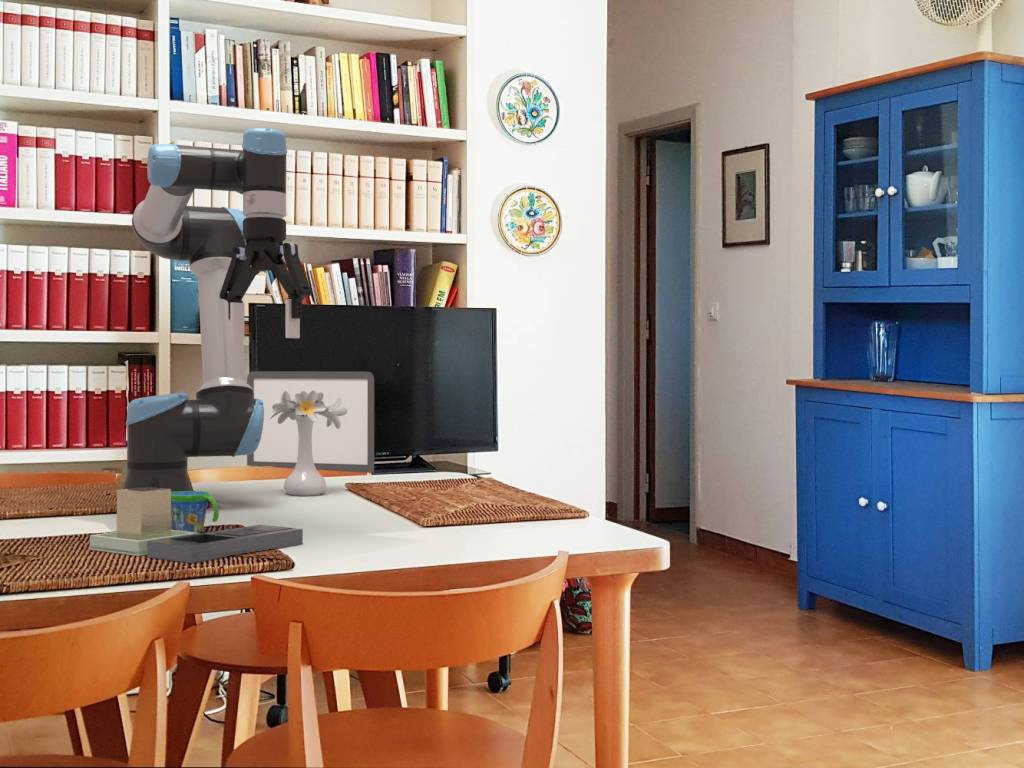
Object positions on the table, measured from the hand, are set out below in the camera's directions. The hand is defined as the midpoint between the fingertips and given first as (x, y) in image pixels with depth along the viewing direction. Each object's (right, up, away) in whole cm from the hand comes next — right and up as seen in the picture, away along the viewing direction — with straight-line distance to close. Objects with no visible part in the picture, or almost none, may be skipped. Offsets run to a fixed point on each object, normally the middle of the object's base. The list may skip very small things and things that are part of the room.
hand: (264, 338), depth 207 cm
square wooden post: (-16, -34, -15) cm, 41 cm away
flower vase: (-3, -34, +57) cm, 66 cm away
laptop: (-15, -34, +93) cm, 100 cm away
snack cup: (-14, -35, +1) cm, 38 cm away
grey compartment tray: (-2, -35, -17) cm, 39 cm away
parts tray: (-16, -35, -15) cm, 41 cm away
